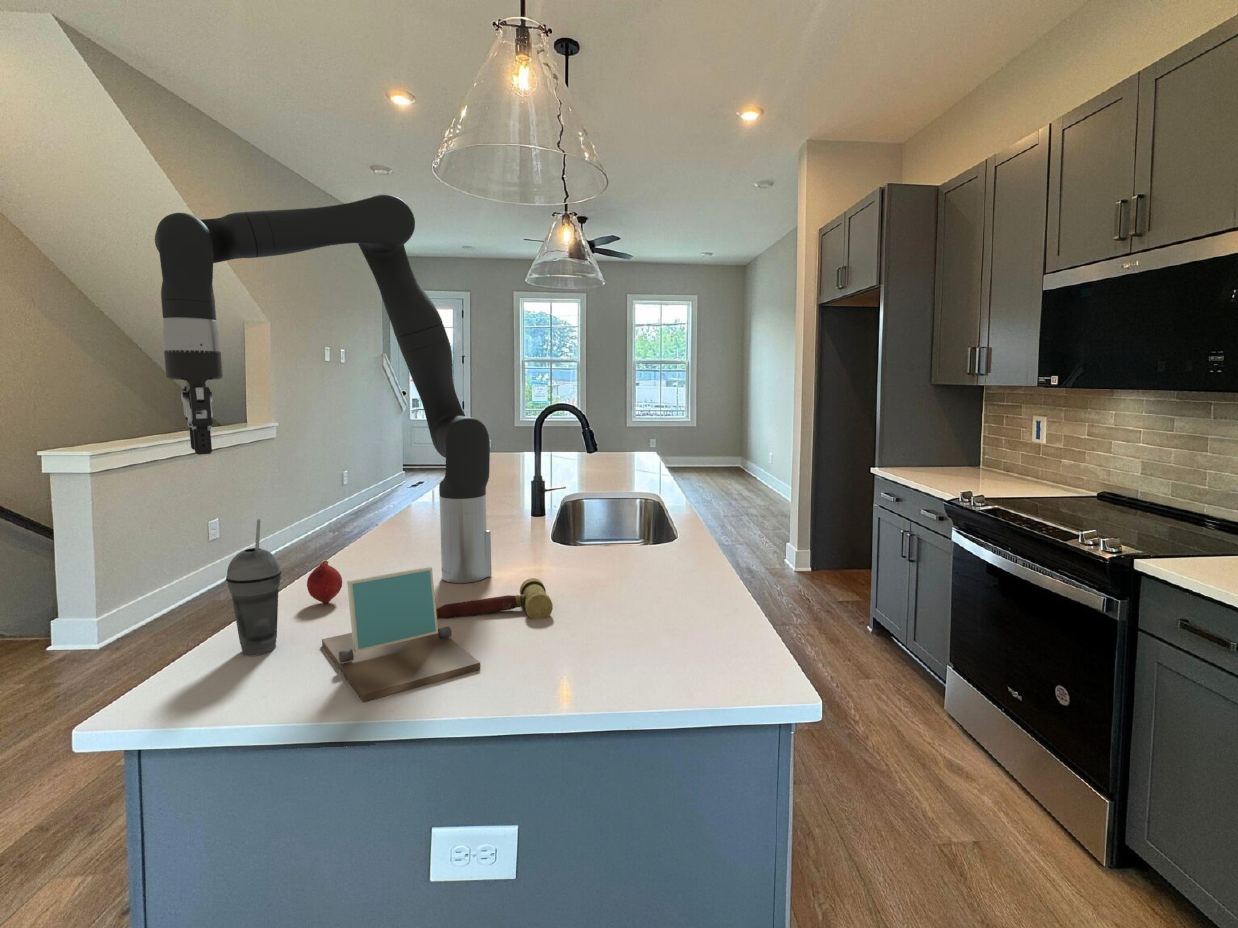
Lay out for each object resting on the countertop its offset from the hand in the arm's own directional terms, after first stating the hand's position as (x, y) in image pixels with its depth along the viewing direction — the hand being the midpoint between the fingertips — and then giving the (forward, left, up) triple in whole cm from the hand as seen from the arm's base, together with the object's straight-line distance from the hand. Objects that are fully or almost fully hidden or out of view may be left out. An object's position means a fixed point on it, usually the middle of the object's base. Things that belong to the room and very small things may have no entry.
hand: (201, 451), depth 105 cm
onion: (-17, -1, -29) cm, 34 cm away
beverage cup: (-4, +15, -29) cm, 33 cm away
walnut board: (-20, +30, -29) cm, 47 cm away
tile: (-20, +29, -22) cm, 41 cm away
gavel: (-39, +21, -30) cm, 54 cm away
